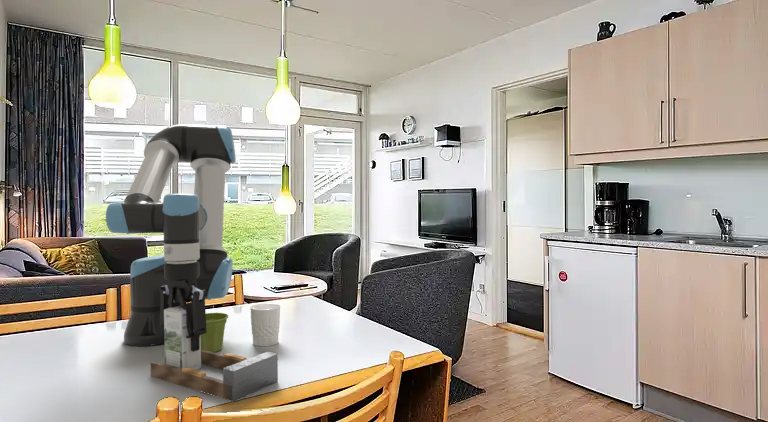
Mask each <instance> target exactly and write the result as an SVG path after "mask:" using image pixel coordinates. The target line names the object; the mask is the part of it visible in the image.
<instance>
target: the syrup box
mask: <svg viewBox="0 0 768 422" xmlns="http://www.w3.org/2000/svg"><path fill="white" fill-rule="evenodd" d="M193 331H194V330H193ZM188 335H189V334H188V330H187V325H186V310H183V308H181V306H177V307H173V308H171V307H170V308H167V309H164V342H165V343H164V364H166V365H170V366H173V367H177V368H180V369H184V368H186V367H187V366H186V336H188ZM199 344H200V345H199V346H200V348H199V363H198V364H195V365H192V366H189V367H188V368H191V369H195V370H198V371H199V370H200V369H202V364H201V335H200V343H199Z"/></svg>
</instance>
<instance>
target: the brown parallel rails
mask: <svg viewBox="0 0 768 422" xmlns="http://www.w3.org/2000/svg"><path fill="white" fill-rule="evenodd" d="M246 359H248V357H246V356H242V355H239V354H234V353H229V352H227V353H224V354H223V353H217V352H211V351H206V350H202V349H201V365H205V366H208V365H209V367H212V366H213V368H217V369H219V370H223V368H225V367H228V366H230V365H233V364H236V363H238V362H241V361H244V360H246ZM150 377H153V378H156V379H159V380H162V381H166V382H168V383H171V384H175V385H178V386H181V387H185V388H188V389H191V390H194V391H197V390H198V391H197V392H201V391H202V392H201V393H204V392H205V394H207V393H209V394H208V395H210V394H212V395H211V396H213V395H214V396H213V397H217V398H220V399H223V398H224V399H223V400H227V401H230V400H231V398H232V396H231V394H232V389H231V387H232V386H230V385H227V384H223V379H218V378H215V377H212V376H208V375H207V372H205V371H201V370H199V369H198V370H195V369H191V368H188V367H186V368H184V369H180V368H177V367H173V366H170V365H166V364H165V363H162V362H160V361H159V362H158V361H156V360H154V361H151V362H150ZM223 386H224V387H223ZM225 386H226V387H225ZM229 386H230V388H229ZM227 387H228V388H229V390H228V388H227ZM223 388H225V389H226V390H225V389H223ZM230 389H231V390H230ZM223 390H224V392H223ZM226 391H228V392H227V393H226ZM223 395H226V396H227V395H228V396H229V397H230V398H229V399H228V396H227V397H226V396H224V397H223ZM230 402H231V401H230Z"/></svg>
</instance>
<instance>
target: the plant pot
mask: <svg viewBox="0 0 768 422" xmlns="http://www.w3.org/2000/svg"><path fill="white" fill-rule="evenodd" d="M228 318H229V314H227V313H223V312H207V313H206V330H207V332H206V333H205V334H201V349H202V350H206V351H211V352H215V353H217V352H219V351H221V350H222V349H223V346H224V345H223V344H224V337H225V336H224V335H225V328H226V323H227V319H228Z"/></svg>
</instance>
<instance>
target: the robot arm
mask: <svg viewBox="0 0 768 422" xmlns="http://www.w3.org/2000/svg"><path fill="white" fill-rule="evenodd" d="M143 156H144V159H143V161H142V162H141V165H140V167H139V169H138V171H137V173H136V175H135V177H134V179H133V182H132V183H131V186H130V188H129V190H128V192H127V194H126V196H125V198H124V200H123V201H118V202H112V203H109V204H108V206H107V208H106V211H105V222H106V223H105V224H106V226H107V229H108V231H110V232H111V233H112V234H126V235H129V234H163V254H158V255H152V256H147V257H142V258H139V259H138V258H137V259H136V260H134V261H132V263H131V265H130V275H129V282H130V283H129V284H130V285H129V288H130V289H129V290H130V291H129V293H130V314H129V318H128V320H127V324H126V326H125V331H124V334H123V343H124V344H126V345H128V346H132V347H133V346H135V347H137V346H138V347H145V346H146V347H147V346H148V347H149V346H158V345H163V344H164V343H165V342H164V309H167V308H170V307H171V308H173V307H177V306H181V308H183V310H186V325H187V330H188V334H189V335H188V336H186V366H187V367H189V366H192V365H195V364H198V363H199V348H200V346H199V345H200V344H199V343H200V335H201V334H205V333H206V332H207V330H206V300H208V301H211V300H216V299H223V298H224V297H225V296H227V294H228V292H229V290H230V288H231V287H230V286H231V283H232V281H231V280H232V275H233V266H234V265H233V259H232V258H231V257H229V256H228V251H227V250H226V249H225V248H224V247H223V240H224V239H223V236H224V235H223V234H224V233H223V232H224V208H225V207H224V206H225V182H226V181H225V180H226V178H225V177H226V176H225V175H226V174H227V172H229V171H231V164H235V163H236V162H237V158H236V149H235V141H234V136H233V132H232V129H231V128H230V127H229V126H227V125H218V124H214V125H210V124H209V125H208V124H207V125H206V124H185V123H184V124H181V123H180V124H173V125H170V126H167V127H165V128H163V129H161V130H160V131H159V132H157V133H155V134H154V136H152V137H151V138H150V139H148V142H147V143H146V144H145V147H144V150H143ZM178 163H190V167H191V169H192V170H194V172H195V174H194V175H195V176H194V191H193V193H167V194H165V195H164V196H163V202H160V199H161V196H162V194H163V192H164V188H165V186H166V183H167V182H168V178H169V176H170V173H171V170H172V169H173V168H174V167H175V166H177V164H178ZM193 330H194V331H193ZM164 345H165V344H164Z"/></svg>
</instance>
